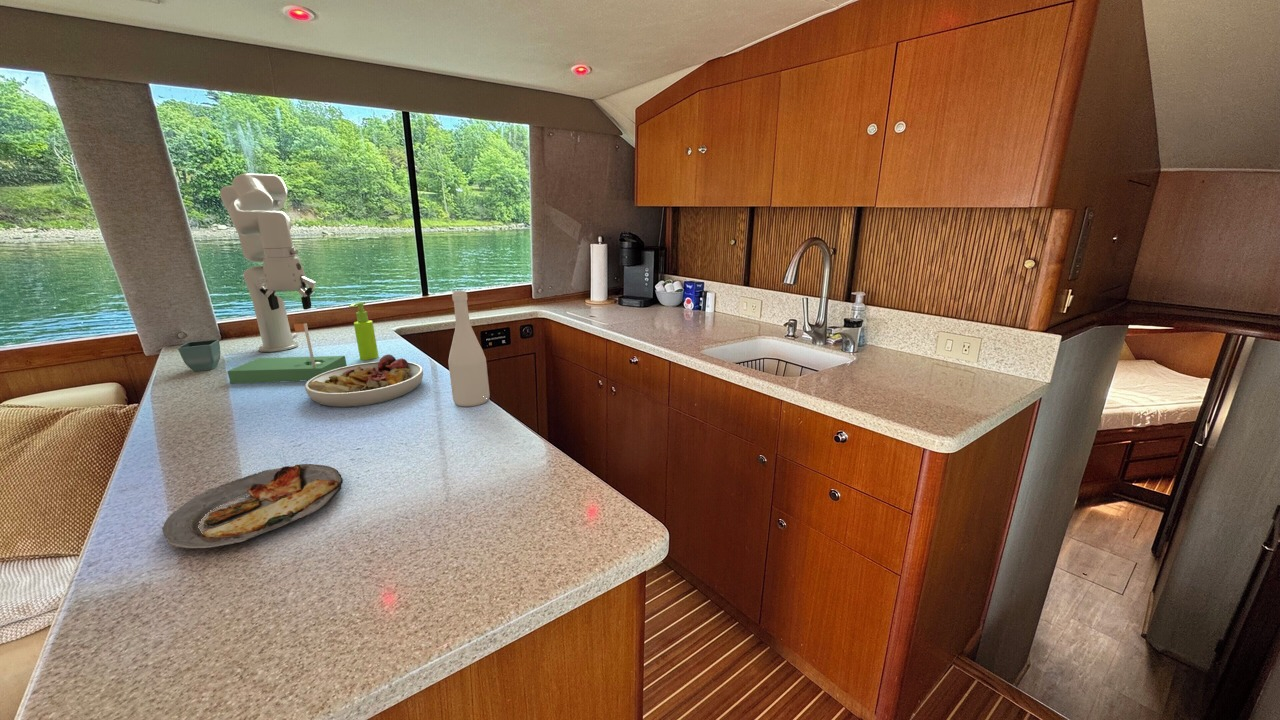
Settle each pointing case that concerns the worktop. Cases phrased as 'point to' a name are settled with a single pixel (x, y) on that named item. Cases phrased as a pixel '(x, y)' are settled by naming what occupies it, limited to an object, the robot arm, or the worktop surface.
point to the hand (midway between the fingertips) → (291, 309)
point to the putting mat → (286, 366)
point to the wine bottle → (466, 359)
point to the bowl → (365, 383)
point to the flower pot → (201, 354)
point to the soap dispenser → (365, 334)
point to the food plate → (253, 505)
